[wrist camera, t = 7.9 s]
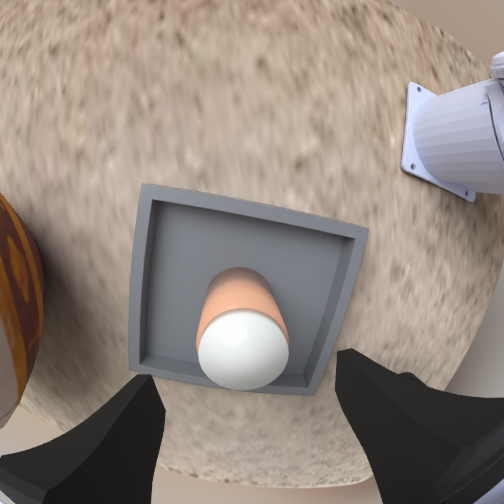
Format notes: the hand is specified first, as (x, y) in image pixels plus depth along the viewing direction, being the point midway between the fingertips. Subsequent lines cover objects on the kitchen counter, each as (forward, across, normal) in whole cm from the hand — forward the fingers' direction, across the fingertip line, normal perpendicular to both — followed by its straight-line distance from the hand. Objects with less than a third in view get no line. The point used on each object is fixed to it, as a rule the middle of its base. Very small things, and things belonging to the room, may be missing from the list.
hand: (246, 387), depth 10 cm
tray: (+10, 0, 0) cm, 10 cm away
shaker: (+9, 0, 0) cm, 9 cm away
